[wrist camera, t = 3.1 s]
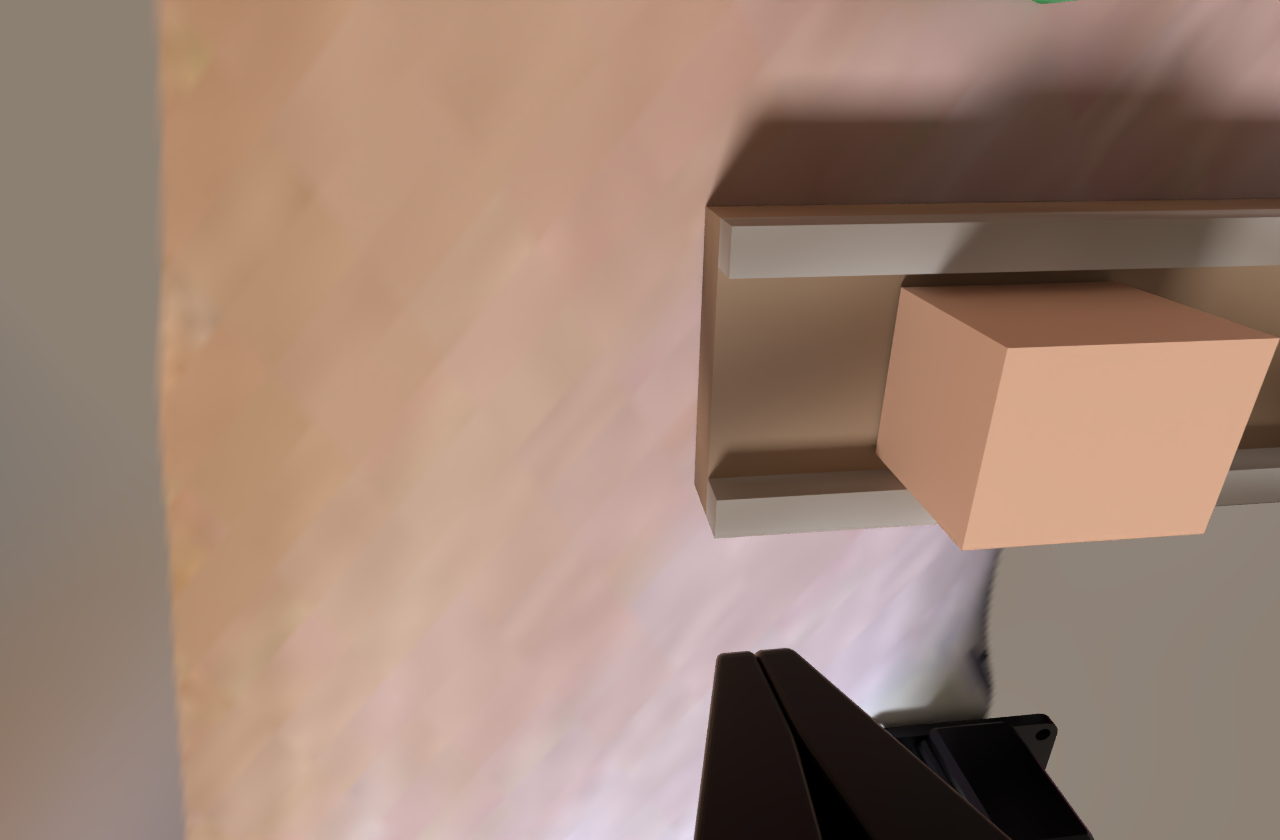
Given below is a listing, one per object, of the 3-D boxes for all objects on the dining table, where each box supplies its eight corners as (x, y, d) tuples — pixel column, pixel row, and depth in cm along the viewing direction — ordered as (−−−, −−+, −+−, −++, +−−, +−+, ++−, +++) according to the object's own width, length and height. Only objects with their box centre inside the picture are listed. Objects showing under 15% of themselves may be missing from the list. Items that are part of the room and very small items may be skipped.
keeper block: (1070, 443, 18) (1203, 533, 14) (875, 453, 17) (962, 550, 14) (1116, 281, 16) (1279, 337, 13) (901, 287, 16) (1007, 348, 12)
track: (1292, 450, 21) (1447, 527, 17) (694, 483, 19) (729, 578, 15) (1399, 196, 18) (1615, 225, 14) (705, 206, 16) (752, 242, 12)
